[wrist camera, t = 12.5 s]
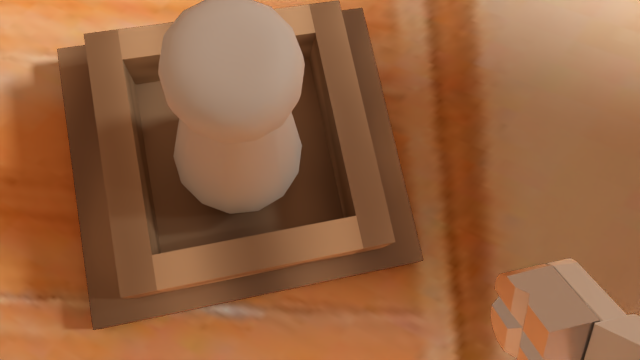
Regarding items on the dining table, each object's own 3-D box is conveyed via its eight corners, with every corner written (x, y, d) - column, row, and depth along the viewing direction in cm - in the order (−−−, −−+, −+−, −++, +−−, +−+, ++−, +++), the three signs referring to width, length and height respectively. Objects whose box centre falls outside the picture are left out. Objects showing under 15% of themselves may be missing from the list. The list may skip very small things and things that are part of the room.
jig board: (357, 21, 33) (373, -23, 28) (415, 262, 30) (442, 255, 26) (66, 61, 30) (35, 19, 26) (101, 328, 27) (73, 332, 23)
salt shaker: (155, 161, 28) (77, 42, 15) (240, 86, 29) (232, -79, 17) (238, 246, 28) (227, 195, 15) (320, 166, 29) (374, 58, 16)
